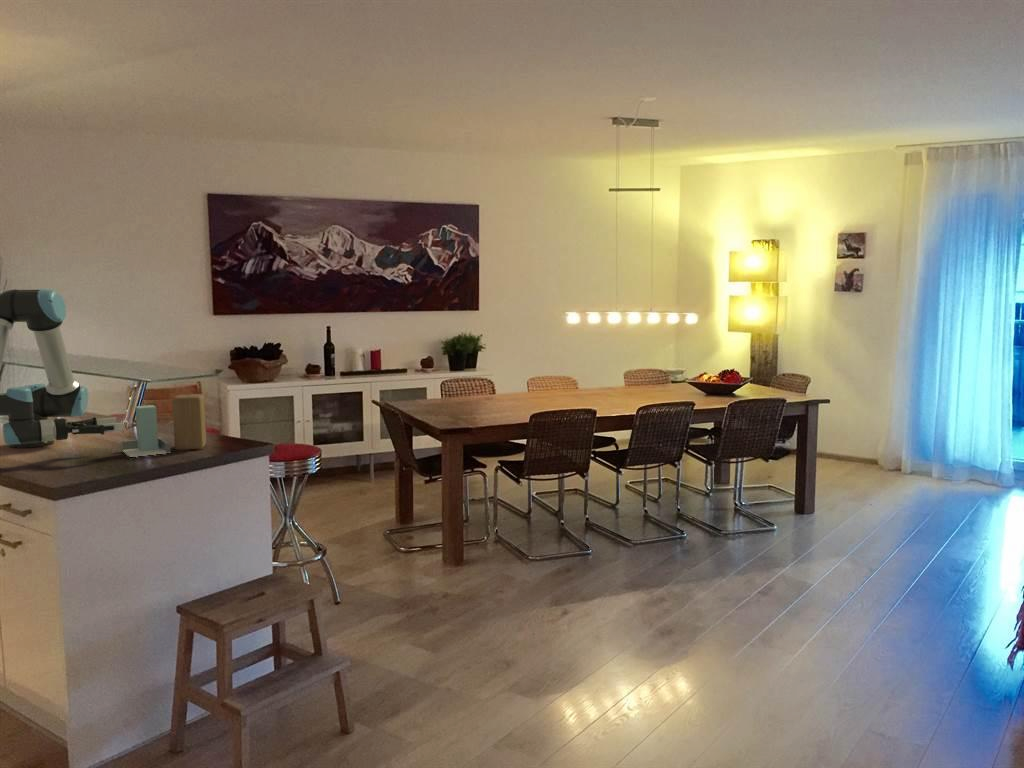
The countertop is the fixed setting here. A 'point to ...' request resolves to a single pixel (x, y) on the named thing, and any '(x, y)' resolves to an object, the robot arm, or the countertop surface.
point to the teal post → (146, 428)
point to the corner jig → (132, 451)
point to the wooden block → (189, 421)
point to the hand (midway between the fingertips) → (119, 423)
